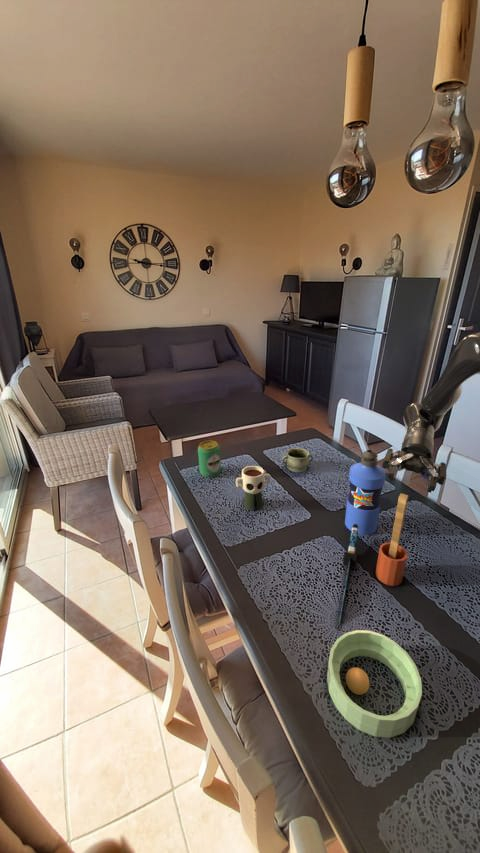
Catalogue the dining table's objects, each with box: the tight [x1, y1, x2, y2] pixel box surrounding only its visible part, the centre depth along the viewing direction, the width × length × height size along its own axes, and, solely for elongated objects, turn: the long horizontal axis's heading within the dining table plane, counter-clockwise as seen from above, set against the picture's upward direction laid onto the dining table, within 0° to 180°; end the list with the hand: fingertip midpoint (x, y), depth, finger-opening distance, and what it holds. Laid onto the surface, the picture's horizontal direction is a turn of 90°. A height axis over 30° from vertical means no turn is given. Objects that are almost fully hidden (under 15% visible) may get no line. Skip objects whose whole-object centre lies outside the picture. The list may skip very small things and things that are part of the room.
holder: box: [375, 541, 408, 587], centre depth 86 cm, size 6×6×9 cm
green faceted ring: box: [326, 629, 423, 738], centre depth 64 cm, size 15×15×6 cm
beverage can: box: [197, 440, 222, 479], centre depth 134 cm, size 8×8×12 cm
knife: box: [338, 524, 359, 626], centre depth 88 cm, size 31×3×4 cm, turn 155°
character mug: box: [235, 465, 271, 511], centre depth 115 cm, size 11×7×13 cm, turn 101°
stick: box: [388, 492, 409, 559], centre depth 83 cm, size 2×2×24 cm
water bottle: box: [344, 449, 387, 536], centre depth 102 cm, size 9×9×25 cm
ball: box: [345, 666, 370, 696], centre depth 64 cm, size 4×4×4 cm
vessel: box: [281, 447, 314, 473], centre depth 138 cm, size 12×9×6 cm
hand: (410, 483), depth 85 cm, fingers open, 8 cm apart
